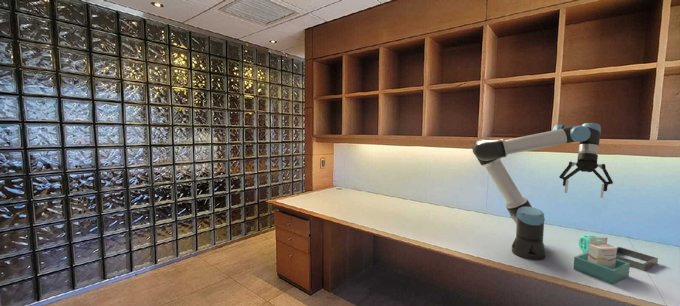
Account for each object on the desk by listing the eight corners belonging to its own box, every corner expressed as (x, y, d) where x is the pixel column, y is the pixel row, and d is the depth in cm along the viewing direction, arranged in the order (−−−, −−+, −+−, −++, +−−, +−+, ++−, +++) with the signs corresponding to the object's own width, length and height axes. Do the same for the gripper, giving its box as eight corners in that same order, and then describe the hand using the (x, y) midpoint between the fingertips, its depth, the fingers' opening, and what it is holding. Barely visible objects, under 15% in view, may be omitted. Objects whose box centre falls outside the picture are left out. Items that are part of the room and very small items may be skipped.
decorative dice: (606, 256, 140) (607, 241, 139) (588, 255, 141) (589, 240, 140) (594, 249, 148) (595, 235, 147) (577, 248, 149) (578, 234, 148)
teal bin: (573, 269, 128) (574, 256, 128) (589, 262, 134) (590, 250, 134) (613, 284, 116) (614, 270, 115) (628, 276, 122) (629, 263, 121)
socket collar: (604, 258, 138) (605, 252, 138) (618, 252, 144) (618, 246, 144) (644, 271, 126) (644, 264, 125) (657, 264, 131) (658, 258, 131)
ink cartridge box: (596, 273, 122) (599, 241, 121) (586, 268, 127) (588, 237, 126) (615, 273, 123) (618, 241, 121) (604, 267, 127) (607, 236, 126)
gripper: (623, 157, 134) (618, 200, 132) (558, 153, 152) (553, 191, 150) (623, 154, 129) (618, 199, 127) (556, 150, 147) (550, 190, 145)
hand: (583, 195), depth 138 cm, fingers open, 13 cm apart
